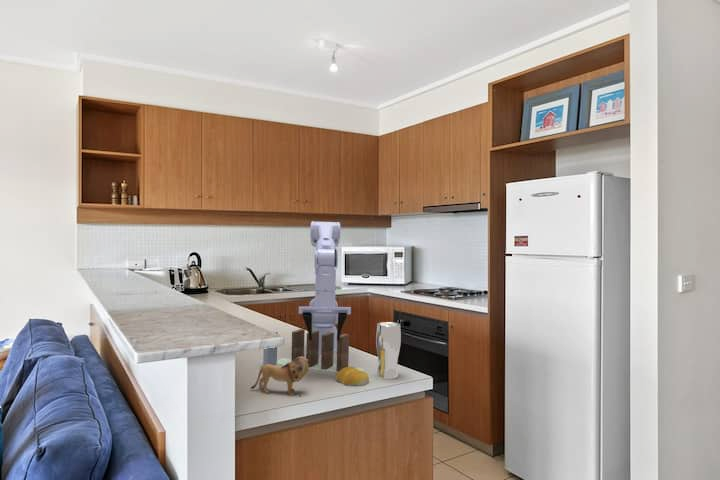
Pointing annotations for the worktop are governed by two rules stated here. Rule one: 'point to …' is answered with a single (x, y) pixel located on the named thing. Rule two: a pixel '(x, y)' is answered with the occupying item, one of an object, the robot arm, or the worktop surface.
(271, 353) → the domino
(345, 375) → the bread roll
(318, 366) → the mat
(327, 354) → the domino
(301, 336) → the domino
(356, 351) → the worktop surface
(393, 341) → the beer glass
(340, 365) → the domino
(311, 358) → the domino
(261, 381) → the lion figurine
